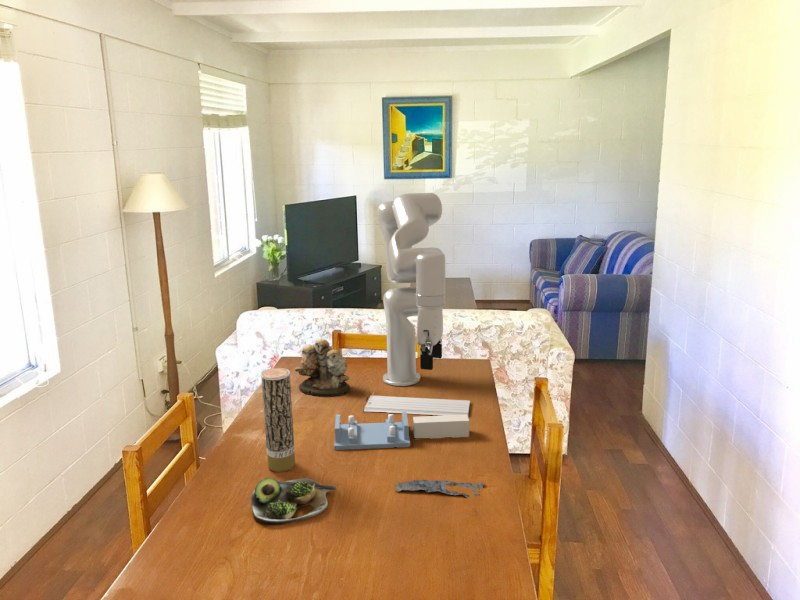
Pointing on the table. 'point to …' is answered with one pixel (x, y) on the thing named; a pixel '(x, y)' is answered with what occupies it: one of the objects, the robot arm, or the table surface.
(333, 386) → the owl figurine
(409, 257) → the robot arm
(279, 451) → the paper tube
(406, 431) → the rack
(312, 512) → the salad plate
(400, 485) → the driftwood
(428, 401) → the grooved white panel
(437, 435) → the clay bar
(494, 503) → the table surface
